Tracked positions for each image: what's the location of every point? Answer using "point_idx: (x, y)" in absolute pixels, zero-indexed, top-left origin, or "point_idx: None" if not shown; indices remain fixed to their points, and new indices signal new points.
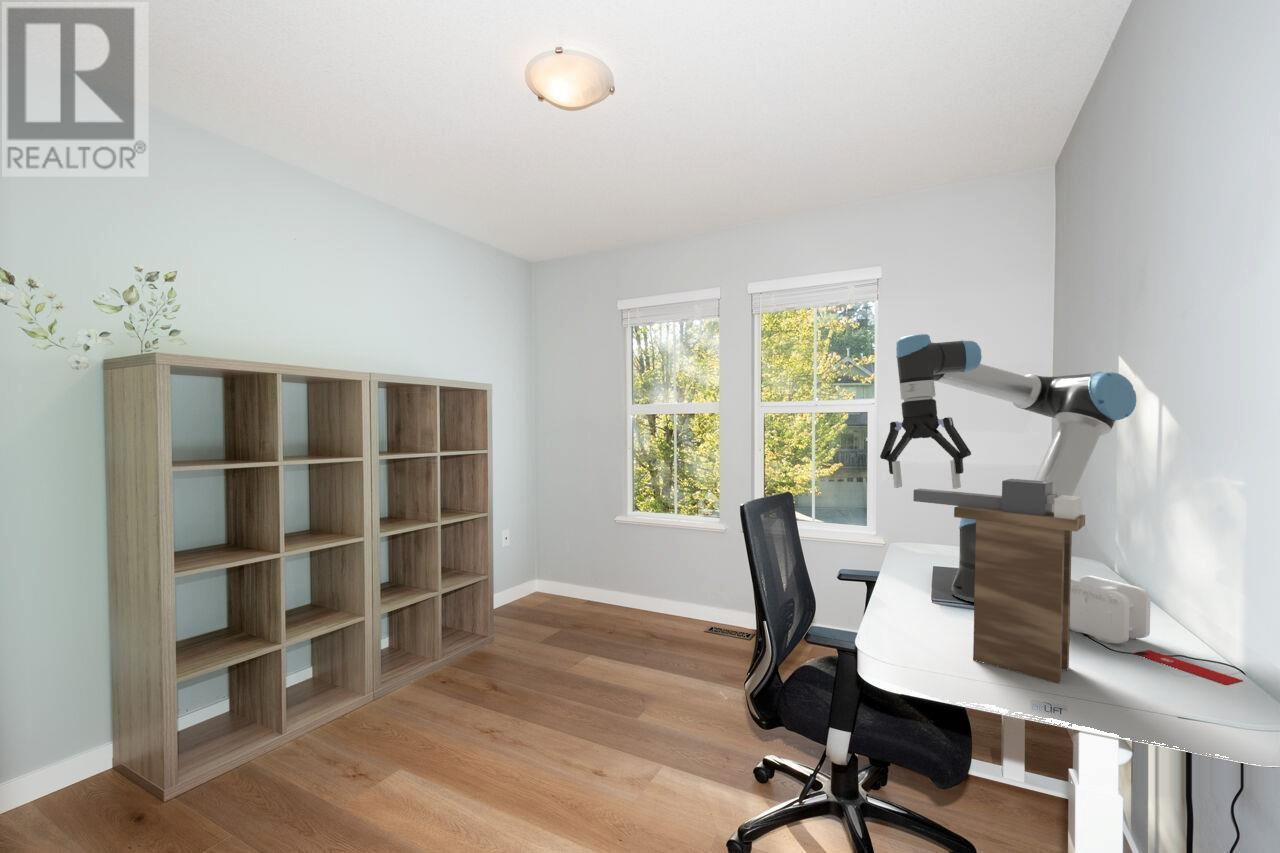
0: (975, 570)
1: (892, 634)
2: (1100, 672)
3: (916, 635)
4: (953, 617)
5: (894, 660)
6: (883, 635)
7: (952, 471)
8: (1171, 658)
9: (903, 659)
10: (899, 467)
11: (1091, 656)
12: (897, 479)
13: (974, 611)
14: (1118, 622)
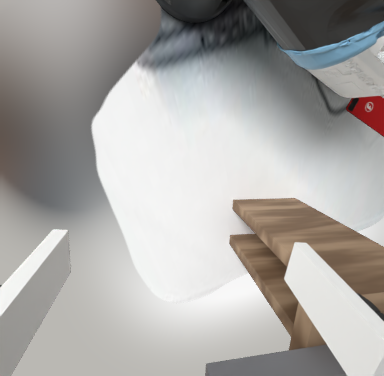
0: (270, 305)
1: (151, 238)
2: (315, 189)
3: (171, 222)
4: (183, 121)
5: (178, 294)
6: (146, 248)
7: (326, 336)
8: (374, 96)
9: (183, 286)
10: (13, 312)
11: (313, 150)
12: (54, 292)
13: (247, 270)
14: (360, 95)
